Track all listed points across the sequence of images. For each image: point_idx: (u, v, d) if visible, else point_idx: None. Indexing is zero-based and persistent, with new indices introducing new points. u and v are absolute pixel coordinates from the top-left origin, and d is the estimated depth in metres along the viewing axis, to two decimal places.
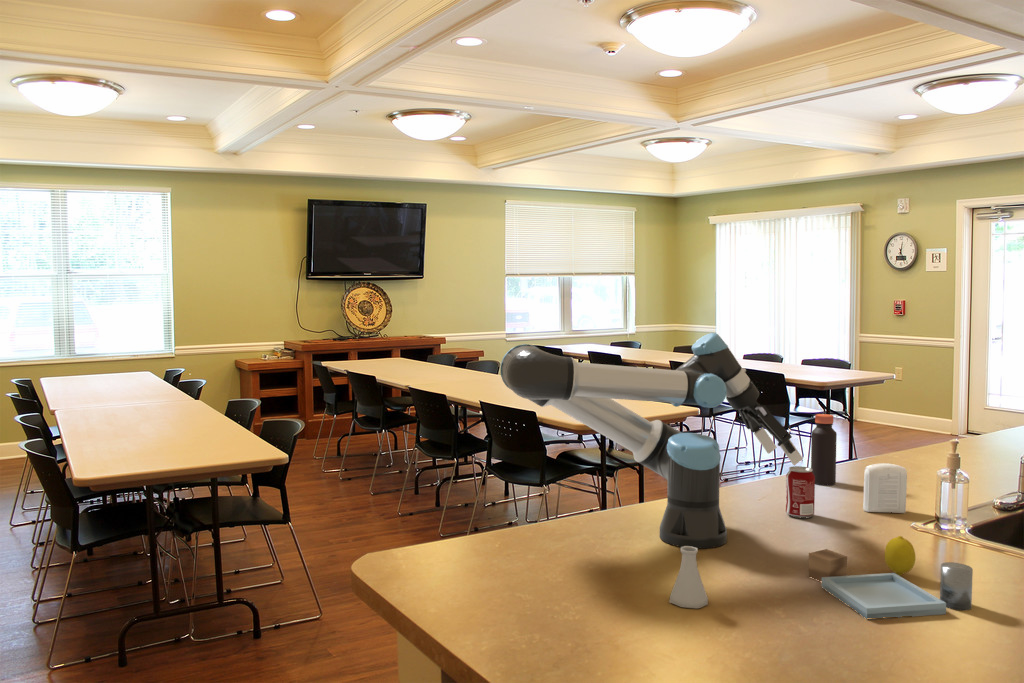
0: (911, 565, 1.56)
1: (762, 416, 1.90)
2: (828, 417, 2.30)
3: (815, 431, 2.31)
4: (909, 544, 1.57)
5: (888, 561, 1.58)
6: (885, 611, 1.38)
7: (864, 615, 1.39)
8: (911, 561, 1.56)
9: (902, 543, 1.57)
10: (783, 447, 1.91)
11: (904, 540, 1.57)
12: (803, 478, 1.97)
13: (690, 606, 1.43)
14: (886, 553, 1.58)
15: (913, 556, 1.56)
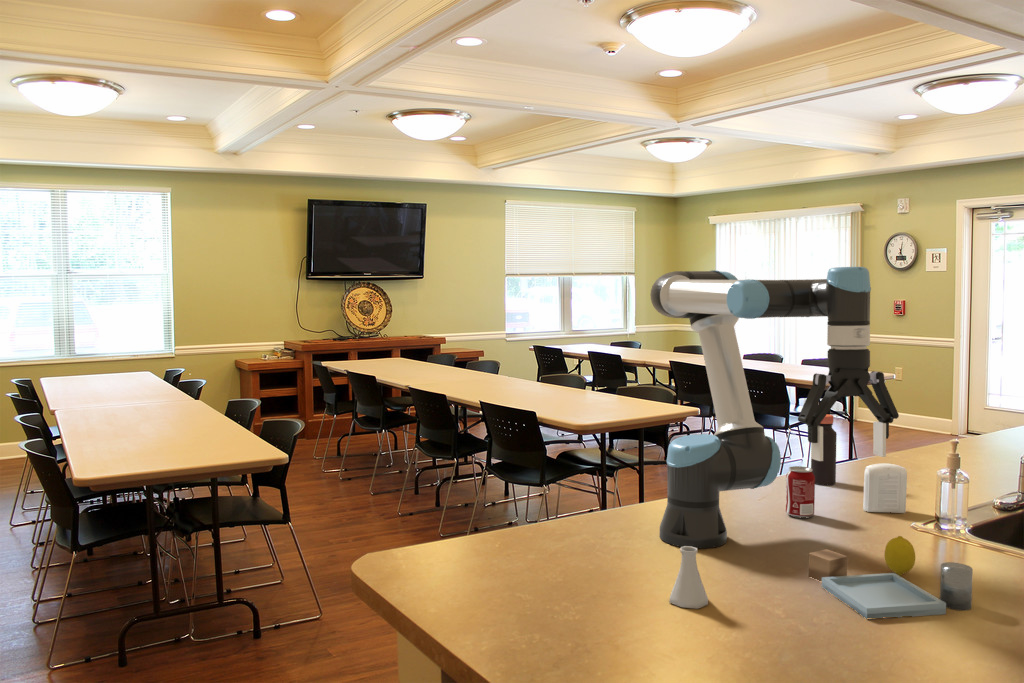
0: (911, 565, 1.56)
1: (813, 382, 1.52)
2: (828, 417, 2.30)
3: None
4: (909, 544, 1.57)
5: (888, 561, 1.58)
6: (885, 611, 1.38)
7: (864, 615, 1.39)
8: (911, 561, 1.56)
9: (902, 543, 1.57)
10: None
11: (904, 540, 1.57)
12: (803, 478, 1.97)
13: (690, 606, 1.43)
14: (886, 553, 1.58)
15: (913, 556, 1.56)
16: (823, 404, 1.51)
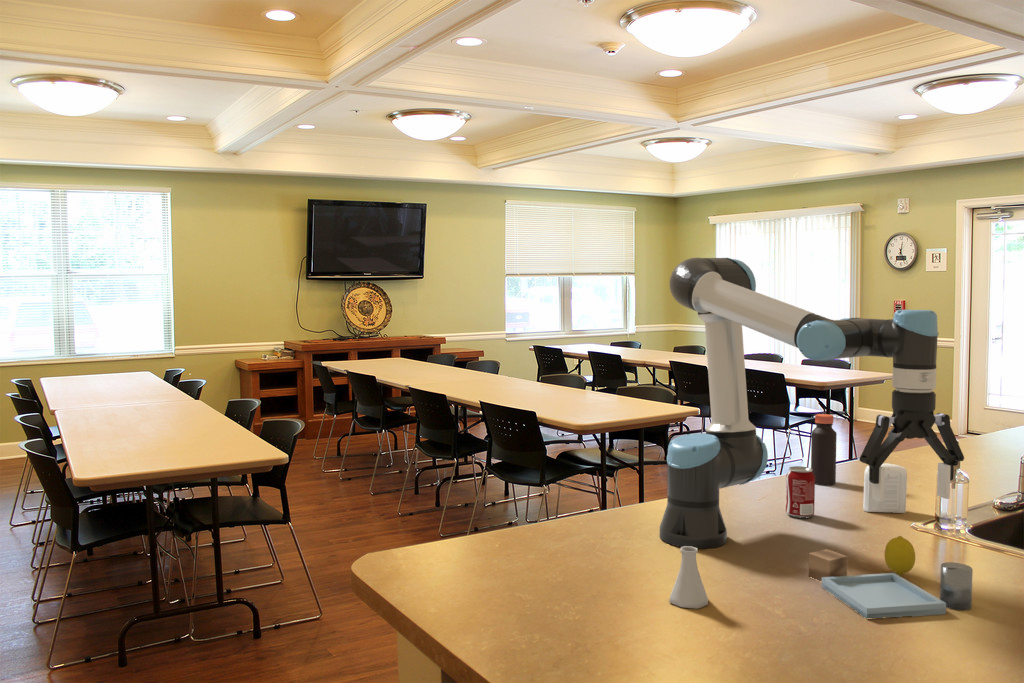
0: (911, 565, 1.56)
1: (876, 424, 1.54)
2: (828, 417, 2.30)
3: (815, 431, 2.31)
4: (909, 544, 1.57)
5: (888, 561, 1.58)
6: (885, 611, 1.38)
7: (864, 615, 1.39)
8: (911, 561, 1.56)
9: (902, 543, 1.57)
10: None
11: (904, 540, 1.57)
12: (803, 478, 1.97)
13: (690, 606, 1.43)
14: (886, 553, 1.58)
15: (913, 556, 1.56)
16: (885, 445, 1.53)
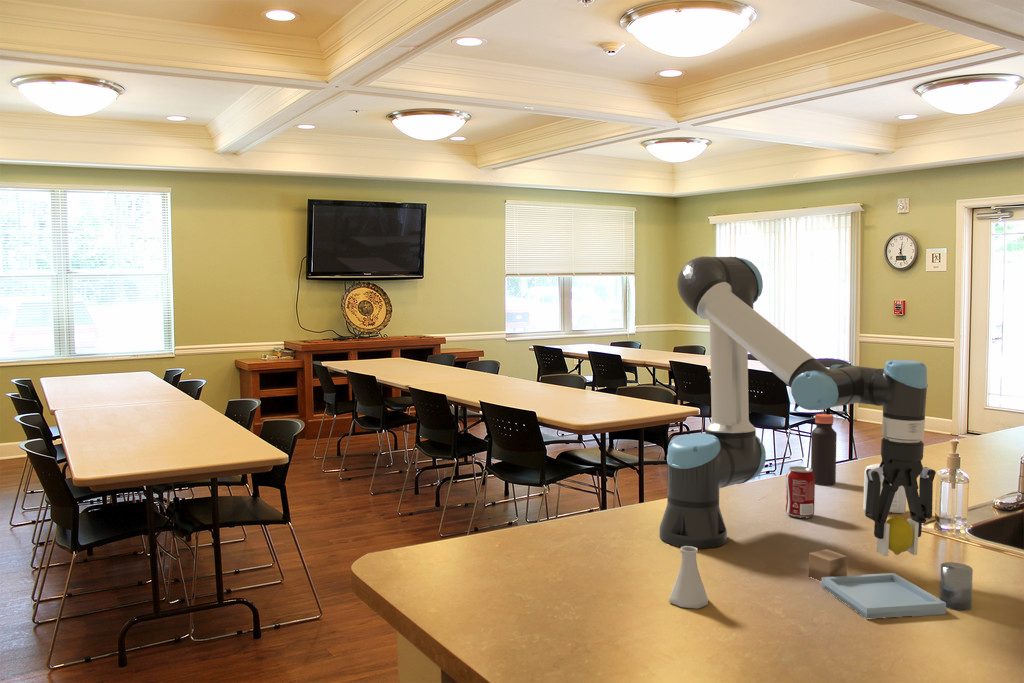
0: (909, 544, 1.56)
1: (868, 478, 1.58)
2: (828, 417, 2.30)
3: (815, 431, 2.31)
4: (907, 523, 1.57)
5: None
6: (885, 611, 1.38)
7: (864, 615, 1.39)
8: (908, 541, 1.56)
9: (900, 522, 1.57)
10: None
11: (902, 519, 1.57)
12: (803, 478, 1.97)
13: (690, 606, 1.43)
14: None
15: (911, 535, 1.56)
16: (883, 499, 1.57)
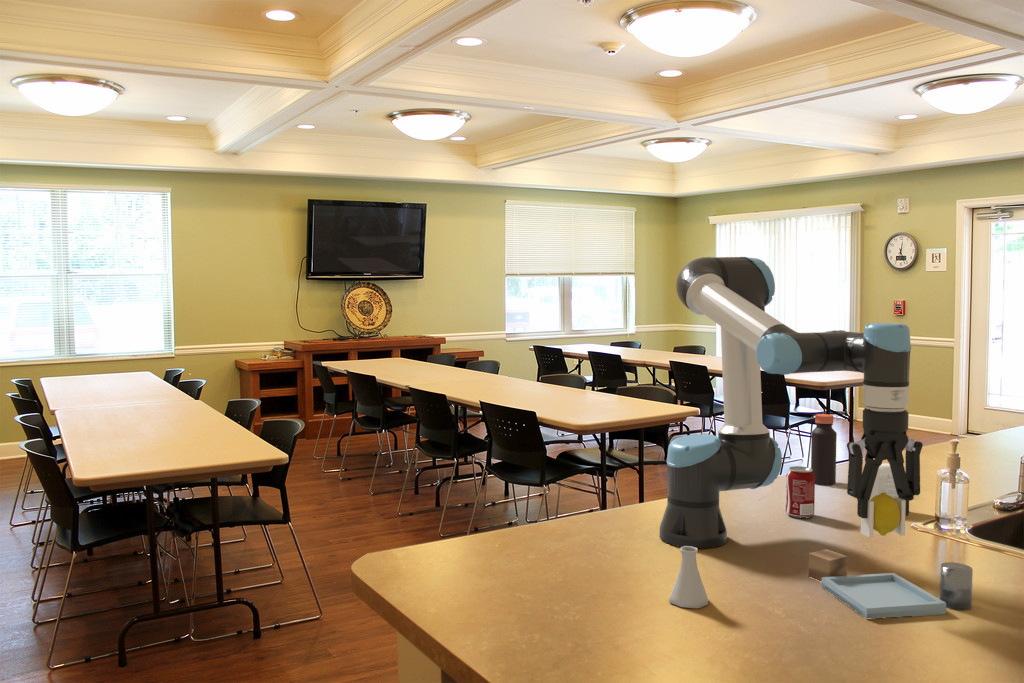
0: (895, 524, 1.43)
1: (849, 452, 1.45)
2: (828, 417, 2.30)
3: (815, 431, 2.31)
4: (893, 501, 1.44)
5: None
6: (885, 611, 1.38)
7: (864, 615, 1.39)
8: (895, 520, 1.43)
9: (885, 499, 1.44)
10: None
11: (888, 497, 1.44)
12: (803, 478, 1.97)
13: (690, 606, 1.43)
14: None
15: (897, 514, 1.43)
16: (866, 475, 1.44)
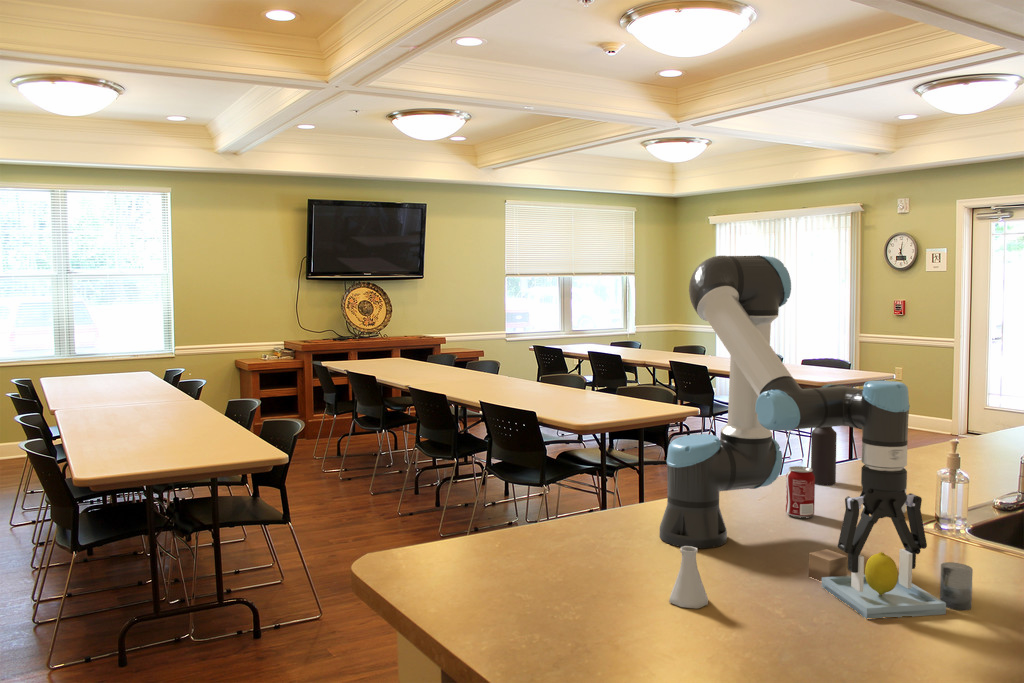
0: (893, 584, 1.44)
1: (846, 507, 1.45)
2: None
3: (815, 431, 2.31)
4: (891, 561, 1.44)
5: (869, 580, 1.45)
6: (885, 611, 1.38)
7: (864, 615, 1.39)
8: (893, 580, 1.44)
9: (883, 560, 1.44)
10: None
11: (886, 557, 1.45)
12: (803, 478, 1.97)
13: (690, 606, 1.43)
14: (867, 571, 1.46)
15: (895, 574, 1.44)
16: (860, 530, 1.45)
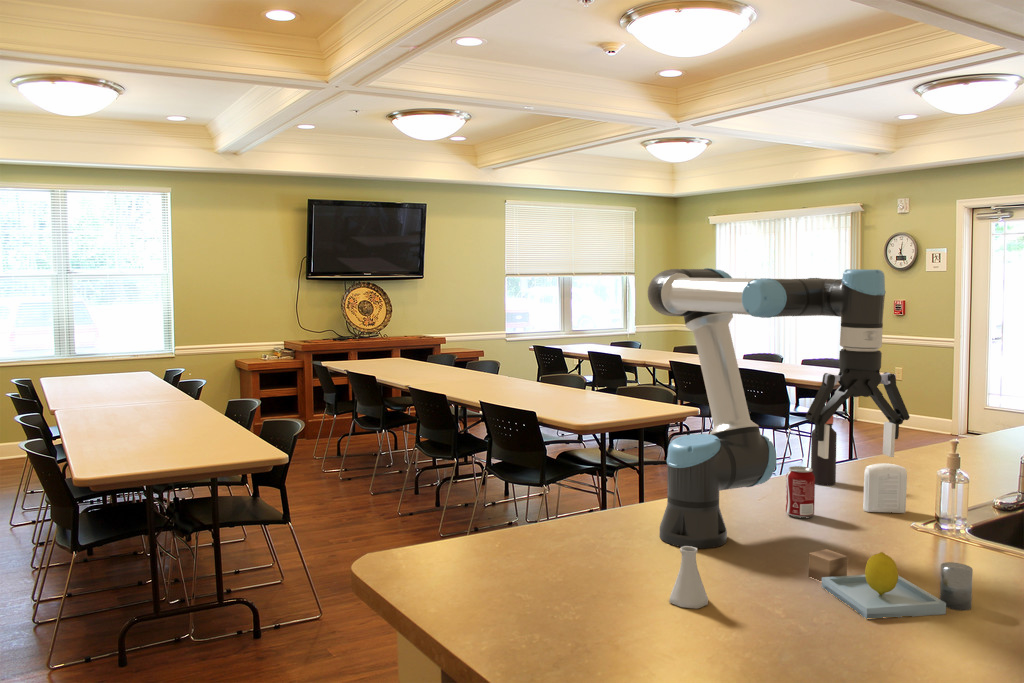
0: (893, 584, 1.44)
1: (822, 382, 1.55)
2: None
3: None
4: (891, 561, 1.44)
5: (869, 579, 1.45)
6: (885, 611, 1.38)
7: (864, 615, 1.39)
8: (893, 580, 1.44)
9: (883, 560, 1.44)
10: None
11: (886, 557, 1.45)
12: (803, 478, 1.97)
13: (690, 606, 1.43)
14: (867, 571, 1.46)
15: (896, 574, 1.44)
16: (831, 403, 1.55)
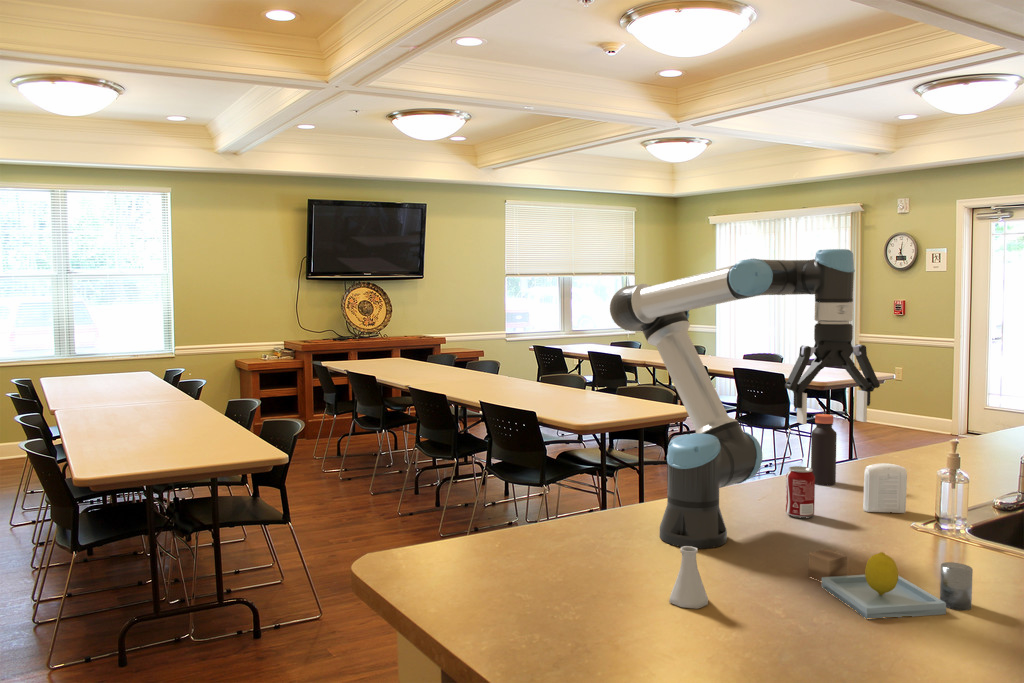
0: (893, 584, 1.44)
1: (800, 353, 1.69)
2: (828, 417, 2.30)
3: (815, 431, 2.31)
4: (891, 561, 1.44)
5: (869, 579, 1.45)
6: (885, 611, 1.38)
7: (864, 615, 1.39)
8: (893, 580, 1.44)
9: (883, 560, 1.44)
10: None
11: (886, 557, 1.45)
12: (803, 478, 1.97)
13: (690, 606, 1.43)
14: (867, 571, 1.46)
15: (896, 574, 1.44)
16: (808, 373, 1.68)
